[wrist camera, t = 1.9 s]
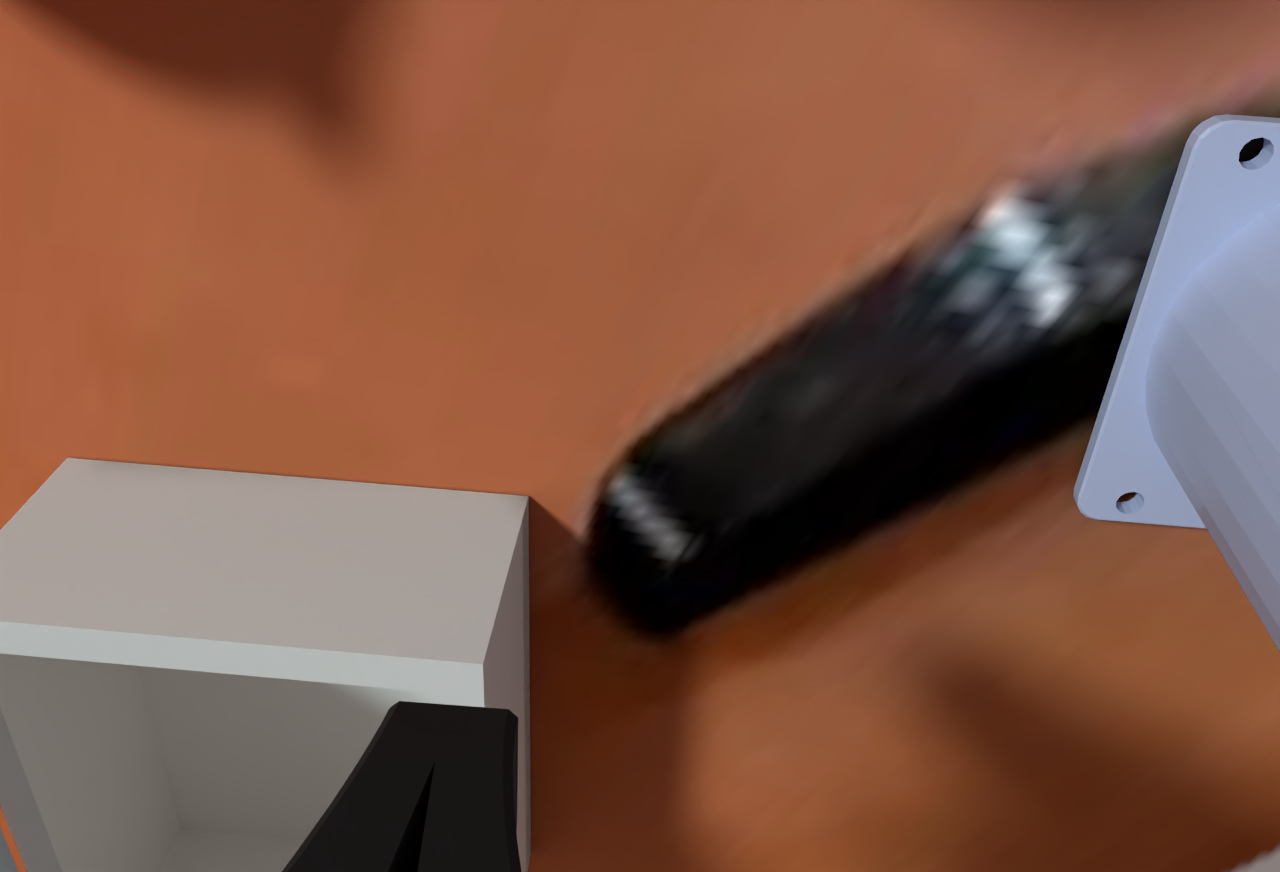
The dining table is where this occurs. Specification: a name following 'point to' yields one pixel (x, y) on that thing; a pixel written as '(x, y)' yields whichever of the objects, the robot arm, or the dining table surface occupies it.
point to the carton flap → (6, 856)
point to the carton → (237, 654)
